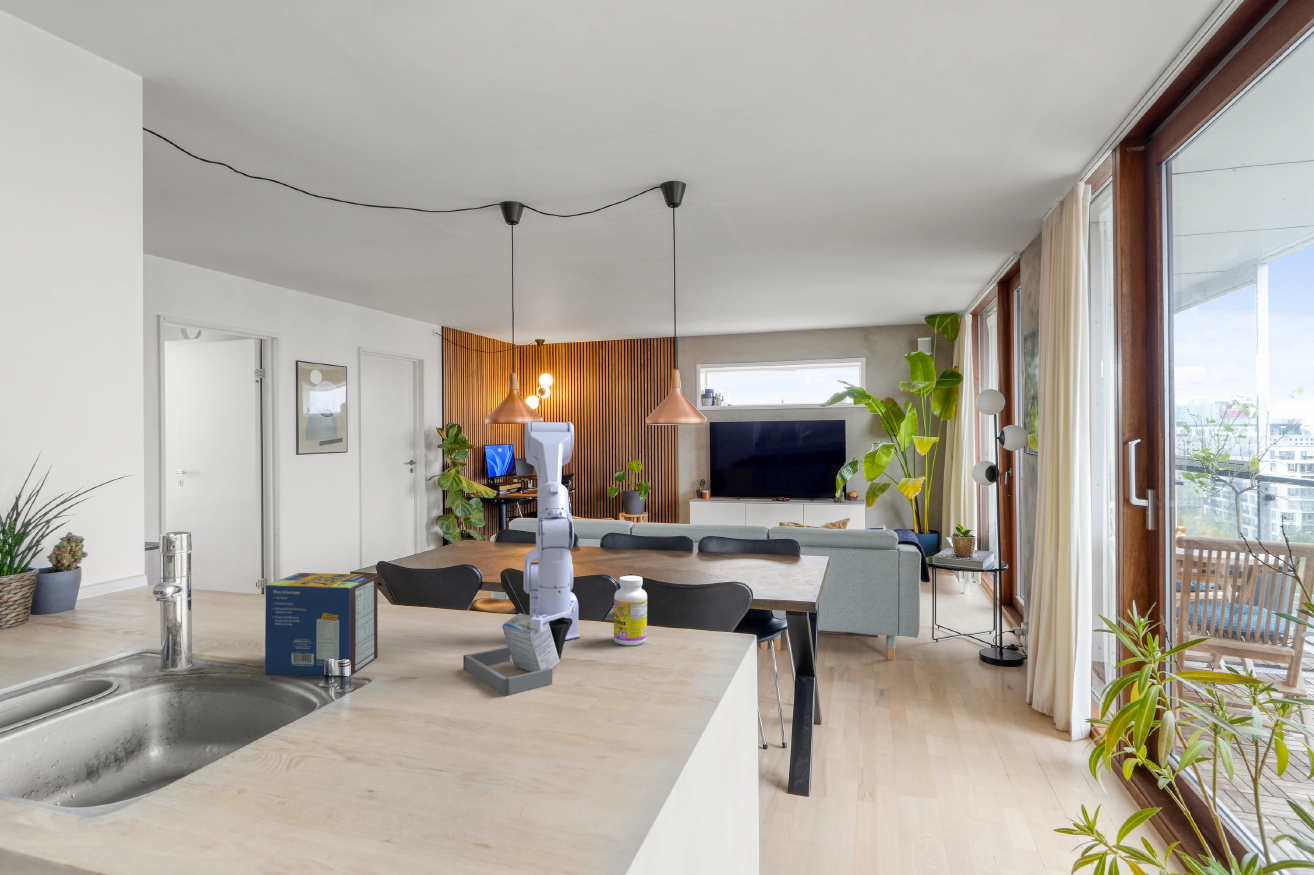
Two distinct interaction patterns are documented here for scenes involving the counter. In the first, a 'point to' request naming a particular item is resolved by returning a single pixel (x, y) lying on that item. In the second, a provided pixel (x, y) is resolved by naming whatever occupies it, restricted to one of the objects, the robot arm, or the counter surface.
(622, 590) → the supplement bottle
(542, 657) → the medicine box
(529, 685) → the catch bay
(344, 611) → the protein box
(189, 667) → the counter surface
